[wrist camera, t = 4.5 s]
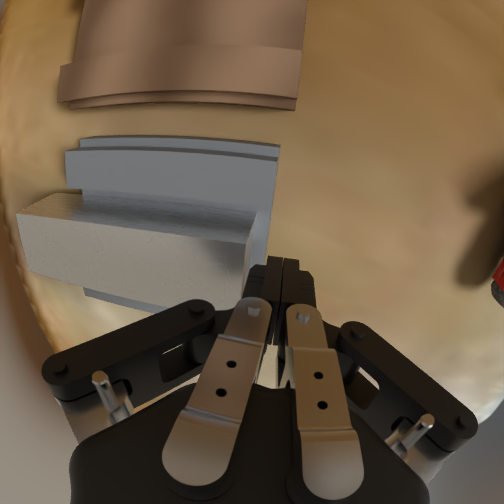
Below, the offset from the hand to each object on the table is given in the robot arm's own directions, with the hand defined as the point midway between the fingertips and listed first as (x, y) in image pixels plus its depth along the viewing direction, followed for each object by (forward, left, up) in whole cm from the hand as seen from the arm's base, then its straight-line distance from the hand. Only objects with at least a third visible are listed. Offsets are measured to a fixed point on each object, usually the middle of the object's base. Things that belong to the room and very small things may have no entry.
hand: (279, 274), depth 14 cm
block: (0, -9, -2) cm, 9 cm away
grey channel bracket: (0, -7, -4) cm, 8 cm away
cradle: (-13, -7, -4) cm, 15 cm away
